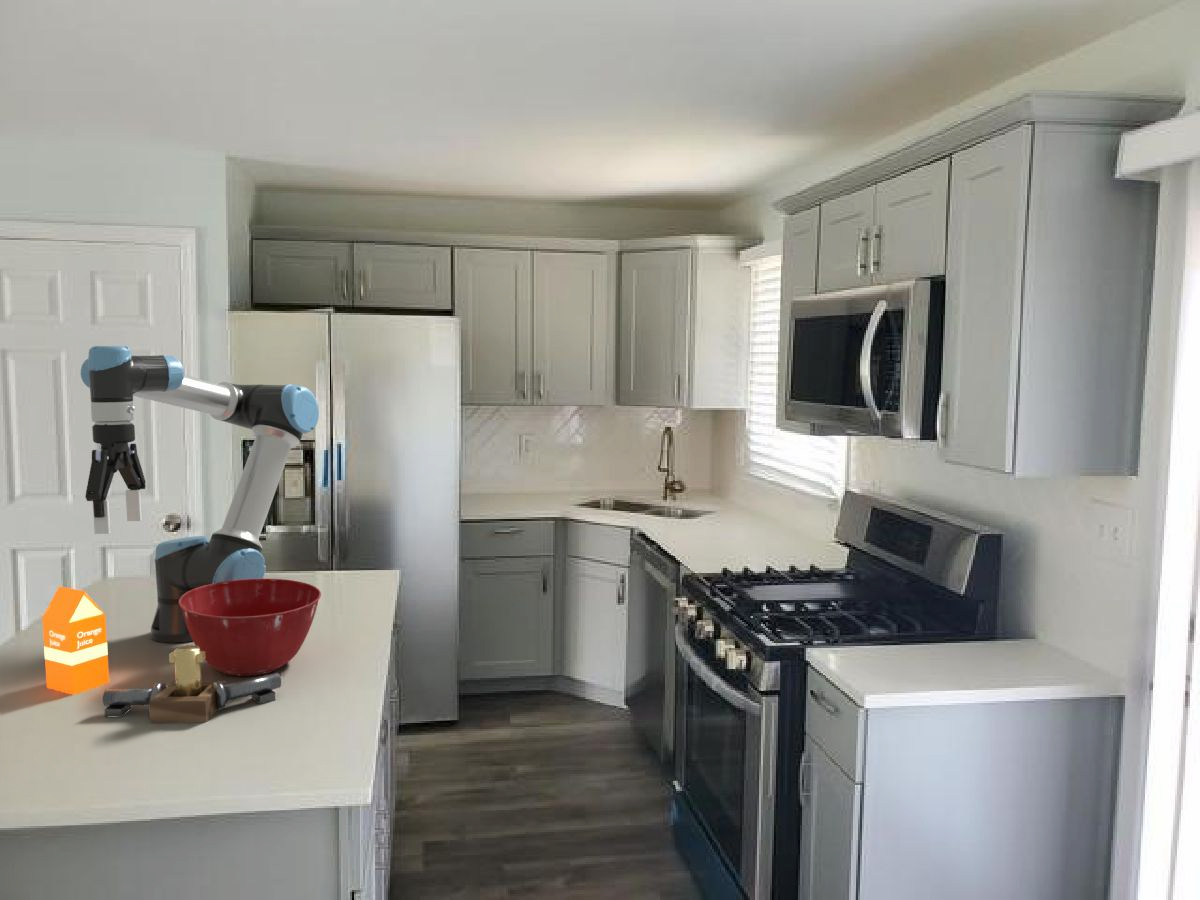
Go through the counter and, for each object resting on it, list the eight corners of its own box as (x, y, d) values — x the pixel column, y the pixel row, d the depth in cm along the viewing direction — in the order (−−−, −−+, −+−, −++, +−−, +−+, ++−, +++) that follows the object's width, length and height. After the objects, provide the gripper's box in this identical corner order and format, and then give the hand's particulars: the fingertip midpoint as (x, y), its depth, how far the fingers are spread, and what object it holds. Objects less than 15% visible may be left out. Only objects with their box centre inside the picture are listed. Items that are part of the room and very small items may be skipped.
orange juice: (83, 675, 190) (77, 582, 188) (110, 682, 186) (104, 587, 184) (45, 688, 183) (39, 590, 181) (72, 695, 179) (66, 596, 177)
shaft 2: (221, 714, 169) (220, 686, 169) (211, 707, 173) (210, 679, 172) (284, 698, 177) (282, 671, 177) (273, 691, 181) (272, 664, 180)
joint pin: (178, 706, 173) (175, 645, 172) (210, 706, 173) (207, 645, 172) (168, 715, 169) (165, 653, 168) (201, 715, 169) (198, 652, 168)
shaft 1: (167, 707, 173) (166, 679, 173) (156, 717, 168) (154, 688, 168) (114, 707, 173) (112, 679, 172) (100, 718, 168) (99, 689, 167)
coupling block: (173, 702, 176) (172, 681, 175) (226, 701, 176) (225, 681, 176) (150, 722, 166) (149, 701, 165) (206, 721, 166) (205, 700, 166)
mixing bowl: (332, 641, 211) (331, 577, 209) (306, 689, 183) (305, 615, 181) (205, 642, 208) (203, 576, 206) (159, 691, 180) (157, 615, 178)
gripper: (101, 427, 171) (108, 538, 173) (159, 418, 196) (164, 515, 198) (60, 427, 171) (67, 539, 173) (123, 418, 195) (129, 516, 198)
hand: (119, 527), depth 185 cm, fingers open, 13 cm apart
